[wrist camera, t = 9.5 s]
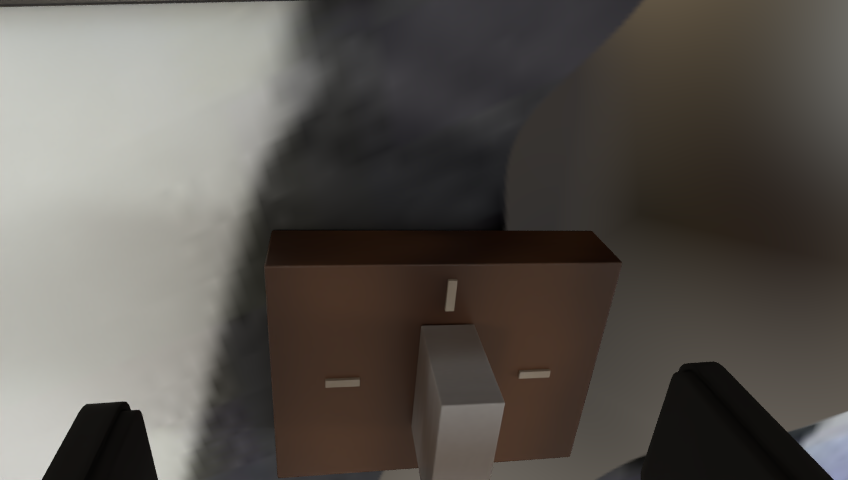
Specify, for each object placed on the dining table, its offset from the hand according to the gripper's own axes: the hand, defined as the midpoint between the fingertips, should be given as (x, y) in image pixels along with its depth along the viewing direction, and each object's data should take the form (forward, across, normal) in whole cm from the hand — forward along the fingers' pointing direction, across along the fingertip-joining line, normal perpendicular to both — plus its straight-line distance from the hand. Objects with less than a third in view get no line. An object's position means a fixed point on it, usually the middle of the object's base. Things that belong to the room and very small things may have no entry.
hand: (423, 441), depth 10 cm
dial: (+11, -3, +8) cm, 14 cm away
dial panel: (+14, -3, +8) cm, 16 cm away
